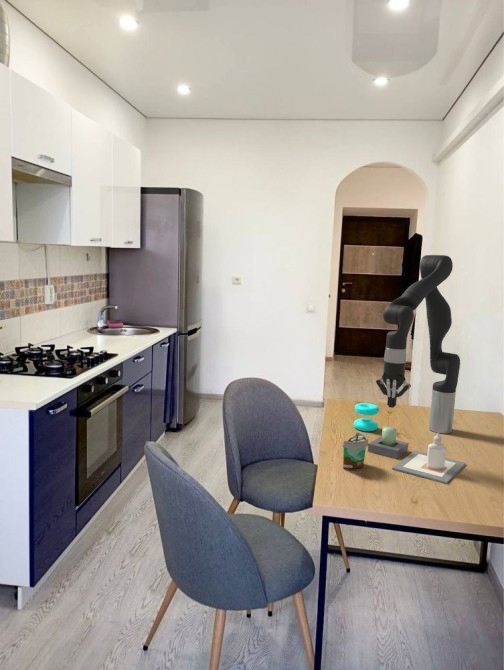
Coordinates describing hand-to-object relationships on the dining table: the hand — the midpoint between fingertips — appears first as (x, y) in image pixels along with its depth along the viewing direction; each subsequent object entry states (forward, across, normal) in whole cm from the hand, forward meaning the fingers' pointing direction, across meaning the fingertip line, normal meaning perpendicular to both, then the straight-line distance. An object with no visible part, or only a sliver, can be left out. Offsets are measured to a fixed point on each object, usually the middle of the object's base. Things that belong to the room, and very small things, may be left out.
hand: (391, 407), depth 192 cm
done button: (+14, 0, 0) cm, 14 cm away
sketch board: (+17, -17, +5) cm, 24 cm away
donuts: (+17, +18, -20) cm, 32 cm away
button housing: (+17, 0, 0) cm, 17 cm away
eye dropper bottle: (+16, -19, +6) cm, 26 cm away
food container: (+17, +2, +22) cm, 28 cm away
